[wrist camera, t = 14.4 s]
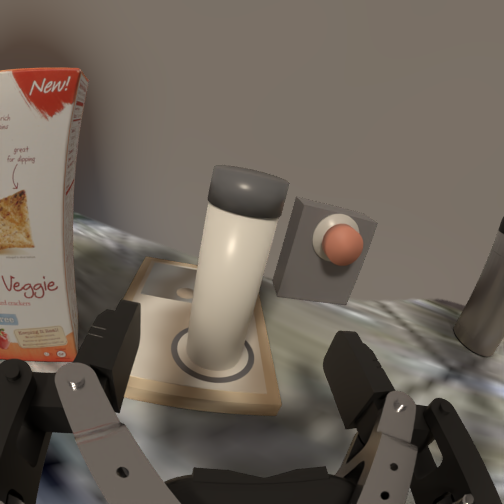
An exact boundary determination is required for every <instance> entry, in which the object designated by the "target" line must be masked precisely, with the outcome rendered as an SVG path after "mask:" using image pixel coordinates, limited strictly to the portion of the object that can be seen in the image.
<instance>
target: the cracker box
mask: <svg viewBox="0 0 504 504" xmlns="http://www.w3.org/2000/svg"><path fill="white" fill-rule="evenodd" d="M88 85H89V80H88V79H87V78H86V76H85V75H84V73H83V72H82V70H80V69H79V68H26V69H25V68H24V69H12V70H1V71H0V359H7V360H8V359H21V360H23V361H48V362H73V361H74V359H75V357H76V355H77V353H78V309H77V299H76V289H75V275H74V257H73V199H74V198H73V197H74V181H75V168H76V158H77V149H78V140H79V133H80V126H81V119H82V114H83V109H84V104H85V98H86V93H87V88H88Z"/></svg>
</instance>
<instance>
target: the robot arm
mask: <svg viewBox="0 0 504 504" xmlns="http://www.w3.org/2000/svg"><path fill="white" fill-rule="evenodd" d="M454 332H455V334H456V336H457V337H458V339H459V340H460V341H461V342H462V343H463V344H464V345H465V346H466V347H468V348H469V349H470V350H472V351H473V352H475V353H477V354H479V355H482V356H486V357H489V356H492V355H493V354H494V352H495V350H496V349H497V347H498V346H499V344H500V343H501V341H502V339H503V338H504V217H503V219H502V221H501V224H500V227H499V231H498V233H497V236H496V238H495V241H494V244H493V246H492V249H491V252H490V255H489V257H488V259H487V262H486V264H485V266H484V269H483V271H482V273H481V275H480V278H479V280H478V282H477V284H476V286H475V288H474V290H473V292H472V294H471V297H470V299H469V300H468V302H467V304H466V306H465V308H464V310H463V312H462V314H461V315H460V317H459V319H458V321H457V323H456V324H455V326H454ZM140 335H141V304H140V303H138V302H133V301H128V300H123V299H122V300H121V301H120V303H119V304H118V306H117V308H116V310H115V311H113V310H108V309H107V310H105V311H104V312H102V313H101V314H100V315H98V316H97V318H96V320H95V321H94V323H93V326H92V327H91V329H90V330H89V332H88V334H87V336H86V338H85V340H84V342H83V343H82V345H81V347H80V349H79V351H78V353H77V355H76V357H75V359H74V361H73V362H72V363H69V364H66V365H64V366H62V367H61V368H60V369H59V370H58V371H57V372H56V373H41V372H32V371H31V368H30V366H29V365H28V364H27V363H26V362H25V361H23V360H21V359H8V360H6V361H4V362H2V363H1V364H0V504H36V498H37V493H38V488H39V483H40V478H41V473H42V469H43V465H44V461H45V457H46V453H47V449H48V445H49V442H50V438H51V435H52V432H58V433H73V434H74V436H75V440H76V443H77V445H78V447H79V449H80V452H81V454H82V456H83V458H84V460H85V462H86V464H87V466H88V468H89V470H90V472H91V474H92V476H93V478H94V479H95V481H96V483H97V485H98V487H99V488H100V490H101V492H102V494H103V495H104V497H105V499H106V500H107V502H108V503H109V504H405V502H406V499H407V495H408V491H409V488H410V489H411V491H412V494H413V497H414V500H415V503H416V504H502V502H501V500H500V497H499V495H498V493H497V490H496V488H495V486H494V484H493V481H492V479H491V477H490V475H489V473H488V471H487V469H486V467H485V464H484V462H483V460H482V458H481V456H480V454H479V452H478V451H477V449H476V447H475V445H474V443H473V441H472V439H471V437H470V435H469V433H468V432H467V430H466V428H465V426H464V424H463V423H462V421H461V419H460V417H459V416H458V414H457V412H456V410H455V409H454V407H453V406H452V404H451V403H450V402H448V401H447V400H445V399H442V398H436V399H434V400H433V401H432V402H431V403H430V404H429V406H422V405H415V402H414V401H413V399H412V398H411V397H410V396H409V395H407V394H406V393H404V392H401V391H395V389H394V387H393V386H392V384H391V382H390V380H389V378H388V377H387V375H386V373H385V371H384V370H383V368H381V367H382V366H381V365H380V363H379V361H377V360H378V359H377V358H376V356H375V354H374V353H373V351H372V350H371V349H370V348H369V347H368V346H367V345H366V344H364V343H363V342H362V341H361V339H360V337H359V336H358V334H357V333H356V332H352V331H338V332H337V333H336V335H335V337H334V339H333V341H332V343H331V345H330V347H329V349H328V351H327V353H326V355H325V357H324V361H323V369H324V373H325V375H326V378H327V380H328V383H329V386H330V388H331V391H332V394H333V396H334V399H335V402H336V404H337V407H338V410H339V413H340V415H341V418H342V421H343V424H344V426H345V429H353V428H357V431H358V432H357V433H356V434H355V435H354V437H353V440H352V442H351V445H350V447H349V449H348V451H347V454H346V456H345V458H344V460H343V462H342V465H341V467H340V468H339V470H338V471H337V473H336V474H335V475H331V474H328V472H327V469H326V466H324V467H315V468H305V469H296V470H292V471H289V472H286V473H282V474H279V475H275V476H271V477H267V478H261V477H256V476H251V475H247V474H243V473H238V472H234V471H230V470H218V469H205V468H195V467H194V468H193V473H192V475H186V476H181V477H176V478H173V479H170V480H167V481H165V482H163V480H162V479H161V478H160V476H159V475H158V474H157V472H156V471H155V469H154V468H153V467H152V465H151V464H150V462H149V461H148V459H147V458H146V456H145V455H144V453H143V452H142V450H141V449H140V447H139V446H138V444H137V442H136V441H135V439H134V438H133V436H132V434H131V433H130V431H129V430H128V428H127V427H126V425H125V424H122V423H121V422H120V421H119V419H118V417H117V415H116V414H115V412H117V413H120V410H121V406H122V402H123V398H124V395H125V391H126V388H127V384H128V381H129V377H130V374H131V371H132V367H133V364H134V361H135V358H136V355H137V351H138V348H139V343H140ZM434 440H436V442H437V444H438V447H439V449H440V451H441V453H442V456H443V460H442V463H441V465H440V466H439V467H437V466H436V464H435V462H434V459H433V457H432V455H431V452H430V450H429V448H428V445H429V444H431V443H432V442H433V441H434Z"/></svg>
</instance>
